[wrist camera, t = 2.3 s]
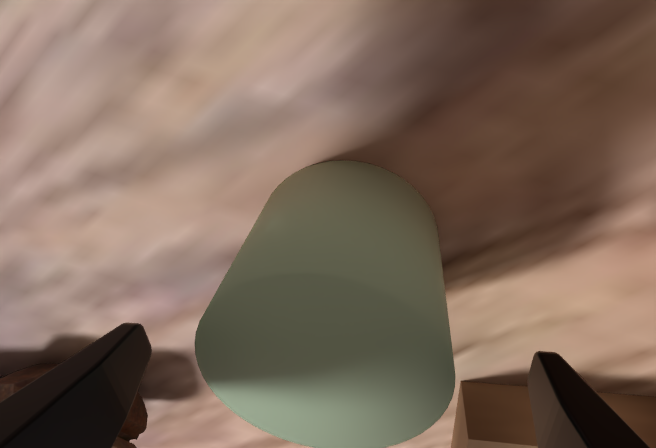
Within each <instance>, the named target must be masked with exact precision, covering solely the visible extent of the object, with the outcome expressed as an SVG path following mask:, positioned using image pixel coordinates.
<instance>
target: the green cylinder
mask: <svg viewBox="0 0 656 448" xmlns="http://www.w3.org/2000/svg"><path fill="white" fill-rule="evenodd" d="M195 354H196V358H197V362H198V366H199V368H200V371H201V373H202V375H203V377H204V379H205V381H206V382H207V384H208V386H209V387H210V388H211V390H212V391H213V392H214V393H215V395H216V396H217V397H218V398H219V399H220V400H221V401H222V402H223V403H224V404H225V405H226V406H227V407H228V408H229V409H231V410H232V411H233V412H234V413H235V414H237V415H238V416H240V417H241V418H242V419H244V420H245V421H247V422H248V423H250V424H252V425H254V426H255V427H257V428H259V429H261V430H263V431H265V432H267V433H269V434H271V435H274V436H276V437H279V438H282V439H284V440H287V441H290V442H294V443H297V444H300V445H305V446H309V447H314V448H384V447H388V446H392V445H396V444H399V443H402V442H404V441H407V440H409V439H412V438H413V437H415V436H417V435H419V434H421V433H423V432H424V431H425V430H427V429H428V428H430V427H431V426H432V425H433V424H434V423H435V422H436V421H437V420H438V419H440V417H441V416H442V415H443V413H444V412H445V411H446V409H447V408H448V406H449V403H450V401H451V399H452V396H453V392H454V388H455V369H454V360H453V352H452V344H451V336H450V327H449V319H448V311H447V303H446V294H445V286H444V278H443V269H442V261H441V253H440V245H439V236H438V230H437V225H436V222H435V218H434V215H433V213H432V211H431V209H430V207H429V205H428V204H427V203H426V201H425V200H424V198H423V197H422V196H421V195H420V194H419V192H418V191H417V190H416V189H415V188H414V187H413V186H411V185H410V184H409V183H408V182H406V181H405V180H404V179H402V178H401V177H399V176H398V175H396V174H394V173H392V172H390V171H388V170H386V169H384V168H381V167H378V166H375V165H372V164H369V163H363V162H358V161H346V160H339V161H328V162H322V163H317V164H314V165H311V166H308V167H305V168H303V169H301V170H299V171H297V172H295V173H294V174H292V175H291V176H289V177H288V178H286V179H285V180H284V181H283V182H282V183H281V184H280V185H279V186H278V187H277V188H276V189H275V190H274V192H273V193H272V194H271V196H270V198H269V199H268V201H267V203H266V205H265V206H264V208H263V210H262V212H261V213H260V215H259V217H258V219H257V221H256V222H255V224H254V226H253V228H252V229H251V231H250V233H249V235H248V236H247V238H246V240H245V242H244V244H243V245H242V247H241V249H240V251H239V252H238V254H237V256H236V258H235V260H234V261H233V263H232V265H231V267H230V268H229V270H228V272H227V274H226V275H225V277H224V279H223V281H222V283H221V284H220V286H219V288H218V290H217V291H216V293H215V295H214V297H213V299H212V300H211V302H210V304H209V306H208V307H207V309H206V311H205V313H204V314H203V316H202V318H201V320H200V322H199V325H198V328H197V331H196V337H195Z"/></svg>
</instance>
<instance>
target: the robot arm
mask: <svg viewBox="0 0 656 448" xmlns="http://www.w3.org/2000/svg"><path fill="white" fill-rule="evenodd" d="M151 352H152V349H151V344H150V342H149V340H148V337H147V335H146V332H145V330H144V327H143V326H142V325H141V324H138V323H123V324H121V325H120V326H118V327H117V328H115V329H113V330H112V331H110V332H109V333H107V334H106V335H104V336H103V337H101V338H99V339H98V340H96V341H95V342H93V343H92V344H90V345H89V346H87V347H85V348H84V349H82V350H81V351H79V352H78V353H76V354H75V355H73V356H71V357H70V358H68V359H67V360H65V361H64V362H62V363H61V364H59V365H57V366H56V367H54V368H53V369H51V370H50V371H48V372H47V373H45V374H43V375H42V376H40V377H39V378H37V379H36V380H34V381H33V382H31V383H29V384H28V385H26V386H25V387H23V388H22V389H20V390H19V391H17V392H15V393H14V394H12V395H11V396H9V397H8V398H6V399H5V400H3V401H1V402H0V448H112V446H113V444H114V442H115V440H116V438H117V436H118V434H119V432H120V430H121V428H122V426H123V424H124V422H125V420H126V418H127V416H128V414H129V411H130V409H131V406H132V404H133V401H134V399H135V396H136V394H137V391H138V388H139V386H140V383H141V381H142V378H143V375H144V373H145V370H146V368H147V365H148V362H149V360H150V357H151ZM528 391H529V397H530V403H531V409H532V415H533V421H534V427H535V433H536V439H537V445H538V448H650V446H649V445H648V444H647V443H646V442H645V441H644V440H643V439H642V438H641V437H640V436H639V435H638V434H637V433H636V432H635V431H634V430H633V429H632V428H631V427H630V426H629V425H628V424H627V423H626V422H625V421H624V420H623V419H622V418H621V417H620V416H619V415H618V414H617V413H616V412H615V411H614V410H613V409H612V408H611V407H610V406H609V405H608V404H607V403H606V402H605V401H604V400H603V399H602V398H601V397H600V396H599V395H598V394H597V392H596V391H595V390H594V389H593V388H592V387H591V386H590V385H589V384H588V383H587V382H586V381H585V380H584V379H583V378H582V377H581V376H580V375H579V374H578V373H577V372H576V371H575V370H574V369H573V368H572V367H571V366H570V365H569V364H568V363H567V362H566V361H565V360H564V359H563V358H562V357H561V356H560V355H559V354H557V353H555V352H543V351H538V352H536V353H535V354H534V357H533V360H532V364H531V368H530V371H529V375H528Z"/></svg>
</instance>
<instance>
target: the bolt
mask: <svg viewBox="0 0 656 448" xmlns="http://www.w3.org/2000/svg"><path fill="white" fill-rule="evenodd" d="M57 365H59V364H38V365H35V366H31V367H28V368H25V369H22V370H20V371H17V372H14V373H11V374H9V375H7V376H5V377H3V378H1V379H0V402H1V401H3V400H5V399H6V398H8V397H9V396H11V395H12V394H14V393H15V392H17V391H19V390H20V389H22V388H23V387H25V386H26V385H28V384H29V383H31V382H33V381H34V380H36V379H37V378H39V377H40V376H42V375H43V374H45V373H47V372H48V371H50V370H51V369H53V368H54V367H56V366H57ZM147 417H148V415H147V411H146V408H145V404H144V402H143V399H142V397H141V396H140V395H139V393H138V391H137V394H136V396H135V399H134V401H133V404H132V406H131V409H130V411H129V414H128V416H127V418H126V420H125V422H124V424H123V426H122V428H121V430H120V432H119V434H118V436H117V438H116V440H115V442H114V444H113V446H112V448H136V446H135V445H134V444H132V443H130V442H129V441H130V440H132V439H136V440H137V438H138V436H139V434H141V433H143V432H144V431H145V429H146V426H147Z"/></svg>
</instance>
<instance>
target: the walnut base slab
mask: <svg viewBox="0 0 656 448" xmlns="http://www.w3.org/2000/svg"><path fill="white" fill-rule="evenodd" d="M597 394H598V395H599V396H600V397H601V398H602V399H603V400H604V401H605V402H606V403H607V404H608V405H609V406H610V407H611V408H612V409H613V410H614V411H615V412H616V413H617V414H618V415H619V416H620V417H621V418H622V419H623V420H624V421H625V422H626V423H627V424H628V425H629V426H630V427H631V428H632V429H633V430H634V431H635V432H636V433H637V434H638V435H639V436H640V437H641V438H642V439H643V440H644V441H645V442H646V443H647V444H648V445H649V446H650V448H656V397H652V396H639V395H627V394H615V393H602V392H597ZM451 448H538V445H537V439H536V433H535V427H534V421H533V415H532V409H531V403H530V397H529V391H528V386H516V385H503V384H491V383H479V382H466V381H461V383H460V390H459V396H458V403H457V410H456V417H455V423H454V430H453V437H452V444H451Z"/></svg>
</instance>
